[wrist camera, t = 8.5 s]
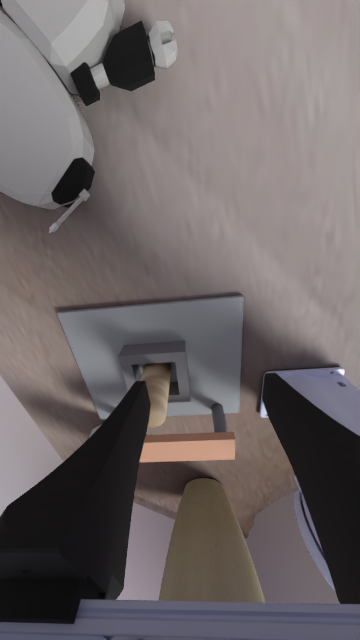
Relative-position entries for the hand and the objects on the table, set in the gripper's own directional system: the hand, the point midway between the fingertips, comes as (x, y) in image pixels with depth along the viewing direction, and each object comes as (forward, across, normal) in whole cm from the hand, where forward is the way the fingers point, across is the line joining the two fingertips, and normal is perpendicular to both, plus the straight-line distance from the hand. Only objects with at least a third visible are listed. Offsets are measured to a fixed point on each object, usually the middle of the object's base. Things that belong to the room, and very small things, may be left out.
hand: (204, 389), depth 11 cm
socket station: (+10, +5, +6) cm, 13 cm away
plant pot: (+11, +1, +36) cm, 38 cm away
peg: (+10, +5, +6) cm, 12 cm away
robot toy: (+11, +9, -19) cm, 23 cm away
